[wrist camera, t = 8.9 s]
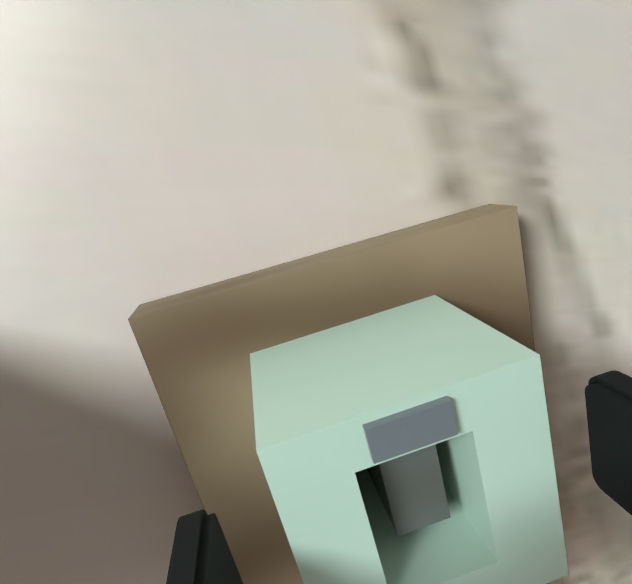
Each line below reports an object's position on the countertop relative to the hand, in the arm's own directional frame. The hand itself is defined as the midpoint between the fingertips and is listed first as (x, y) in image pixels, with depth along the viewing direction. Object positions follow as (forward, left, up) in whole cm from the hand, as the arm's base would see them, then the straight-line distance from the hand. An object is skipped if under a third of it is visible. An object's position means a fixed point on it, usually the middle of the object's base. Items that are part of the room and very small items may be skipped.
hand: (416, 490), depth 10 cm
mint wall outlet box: (0, 0, -4) cm, 4 cm away
